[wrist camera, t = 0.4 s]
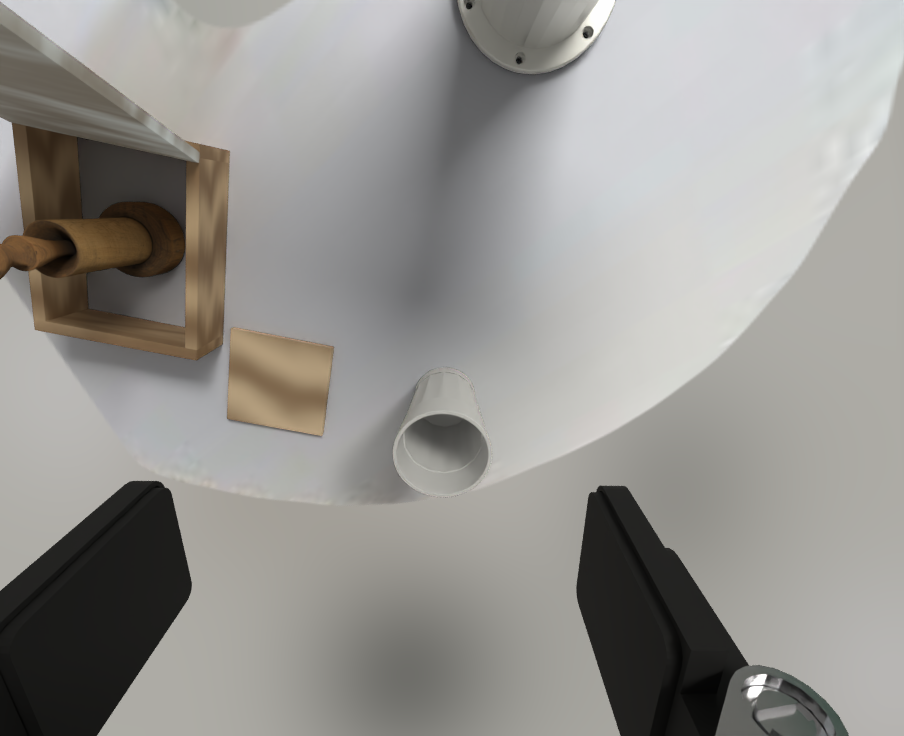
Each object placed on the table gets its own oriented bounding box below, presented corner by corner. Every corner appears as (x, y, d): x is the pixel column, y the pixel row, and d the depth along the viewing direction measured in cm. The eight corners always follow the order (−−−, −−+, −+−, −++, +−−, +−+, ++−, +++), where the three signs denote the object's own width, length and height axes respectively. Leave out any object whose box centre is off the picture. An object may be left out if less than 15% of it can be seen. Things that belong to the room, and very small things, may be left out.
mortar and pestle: (156, 188, 41) (-54, 178, 24) (200, 255, 43) (35, 289, 26) (98, 221, 42) (-143, 235, 25) (143, 285, 44) (-52, 338, 27)
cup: (414, 434, 49) (403, 503, 38) (400, 366, 47) (383, 418, 35) (487, 424, 49) (497, 490, 38) (477, 354, 46) (485, 403, 35)
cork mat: (233, 327, 45) (230, 328, 45) (334, 346, 46) (332, 348, 45) (229, 416, 49) (227, 418, 48) (323, 433, 49) (321, 435, 49)
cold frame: (59, 63, 37) (-401, -100, 17) (231, 102, 38) (-14, -8, 18) (78, 316, 45) (-229, 410, 25) (222, 344, 46) (40, 456, 26)
